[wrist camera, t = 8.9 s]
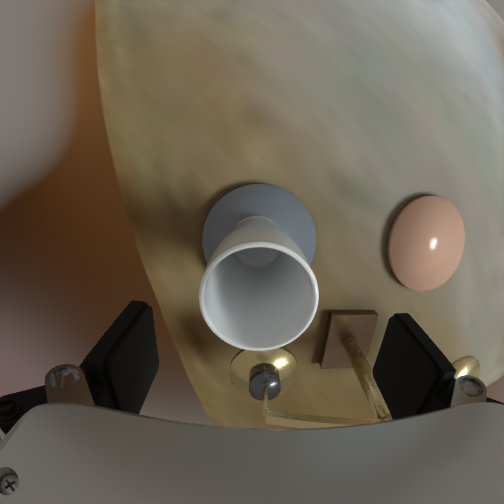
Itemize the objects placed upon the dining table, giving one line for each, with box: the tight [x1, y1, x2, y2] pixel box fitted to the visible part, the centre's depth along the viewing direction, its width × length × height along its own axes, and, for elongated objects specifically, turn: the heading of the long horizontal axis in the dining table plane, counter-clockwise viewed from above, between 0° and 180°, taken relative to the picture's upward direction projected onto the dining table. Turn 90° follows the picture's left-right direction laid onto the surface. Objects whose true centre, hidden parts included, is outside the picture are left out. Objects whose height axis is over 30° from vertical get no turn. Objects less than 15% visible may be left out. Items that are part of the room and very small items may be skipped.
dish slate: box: [202, 184, 316, 264], centre depth 30 cm, size 12×12×1 cm
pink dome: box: [387, 195, 465, 291], centre depth 30 cm, size 12×12×1 cm
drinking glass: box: [199, 216, 319, 351], centre depth 23 cm, size 7×7×15 cm
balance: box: [229, 310, 480, 428], centre depth 25 cm, size 8×29×18 cm, turn 87°
